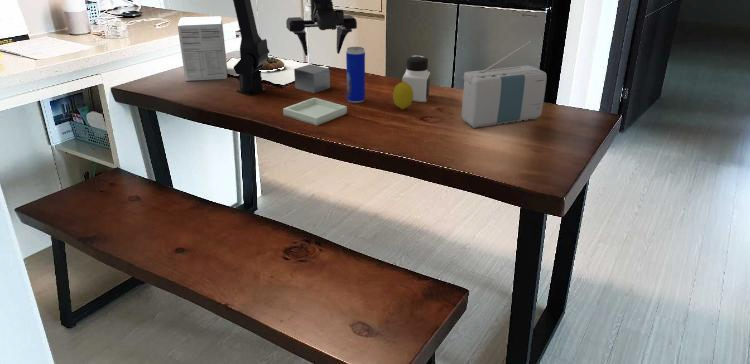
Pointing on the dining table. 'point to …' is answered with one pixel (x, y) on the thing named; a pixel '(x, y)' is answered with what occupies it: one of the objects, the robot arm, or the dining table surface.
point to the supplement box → (202, 48)
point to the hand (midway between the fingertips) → (322, 54)
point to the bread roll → (272, 64)
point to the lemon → (403, 95)
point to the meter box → (312, 78)
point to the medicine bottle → (418, 77)
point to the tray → (315, 111)
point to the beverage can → (355, 74)
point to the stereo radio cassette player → (503, 94)
